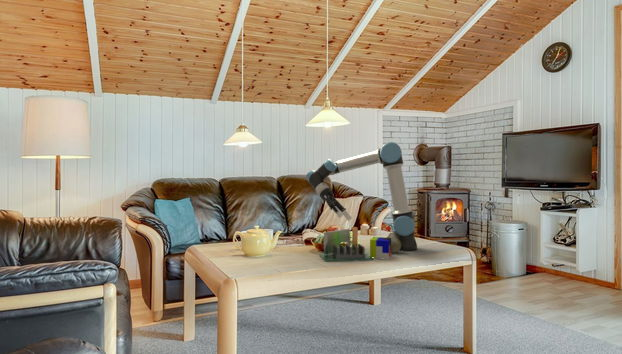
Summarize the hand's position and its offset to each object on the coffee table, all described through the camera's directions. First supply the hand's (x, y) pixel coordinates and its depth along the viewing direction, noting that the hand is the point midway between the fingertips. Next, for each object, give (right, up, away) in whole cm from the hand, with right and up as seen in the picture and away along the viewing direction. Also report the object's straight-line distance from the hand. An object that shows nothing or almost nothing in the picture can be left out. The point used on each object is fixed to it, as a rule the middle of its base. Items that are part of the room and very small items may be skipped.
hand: (345, 217), depth 238 cm
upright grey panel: (-5, -19, -2) cm, 20 cm away
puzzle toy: (+19, -21, -7) cm, 29 cm away
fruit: (+28, -21, +5) cm, 35 cm away
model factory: (-1, -21, -11) cm, 23 cm away
